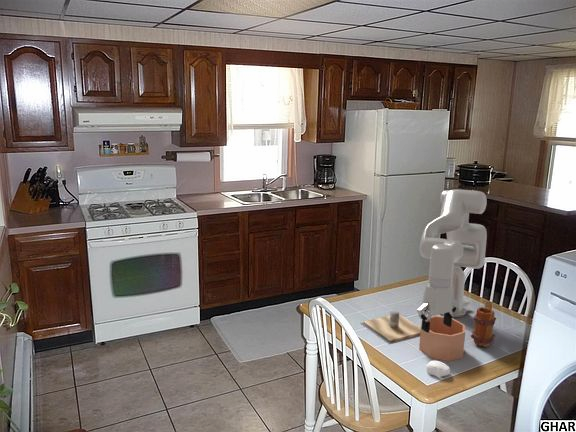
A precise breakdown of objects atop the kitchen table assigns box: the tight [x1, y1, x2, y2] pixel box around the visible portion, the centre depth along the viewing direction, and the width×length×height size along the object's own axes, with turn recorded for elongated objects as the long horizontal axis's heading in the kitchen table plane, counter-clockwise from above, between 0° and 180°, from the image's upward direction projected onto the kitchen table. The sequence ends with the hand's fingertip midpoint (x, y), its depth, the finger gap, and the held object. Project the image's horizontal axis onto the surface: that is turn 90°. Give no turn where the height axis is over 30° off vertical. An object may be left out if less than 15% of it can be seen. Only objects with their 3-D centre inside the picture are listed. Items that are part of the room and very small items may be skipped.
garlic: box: [425, 360, 451, 380], centre depth 163 cm, size 8×7×4 cm
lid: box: [362, 310, 421, 343], centre depth 194 cm, size 18×18×7 cm
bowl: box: [418, 315, 466, 362], centre depth 177 cm, size 16×16×10 cm
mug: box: [470, 301, 497, 347], centre depth 183 cm, size 15×8×15 cm, turn 148°
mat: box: [360, 321, 420, 345], centre depth 194 cm, size 20×20×1 cm
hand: (436, 328), depth 161 cm, fingers open, 9 cm apart
